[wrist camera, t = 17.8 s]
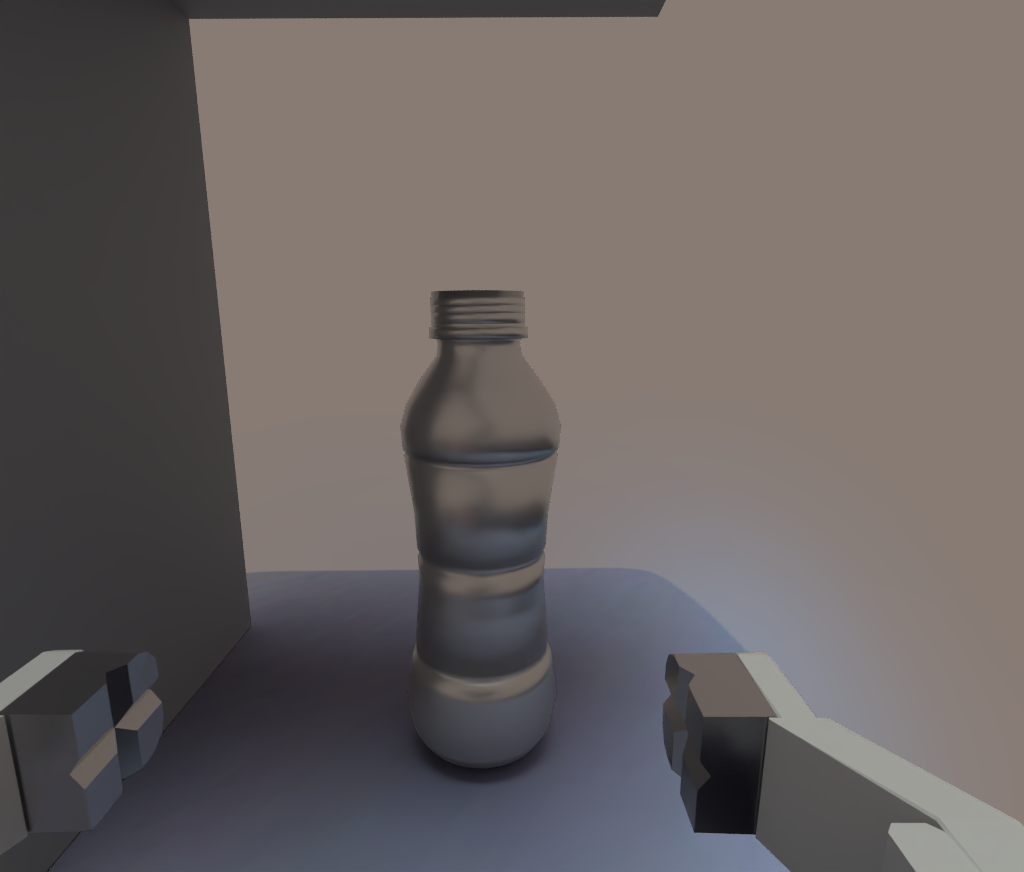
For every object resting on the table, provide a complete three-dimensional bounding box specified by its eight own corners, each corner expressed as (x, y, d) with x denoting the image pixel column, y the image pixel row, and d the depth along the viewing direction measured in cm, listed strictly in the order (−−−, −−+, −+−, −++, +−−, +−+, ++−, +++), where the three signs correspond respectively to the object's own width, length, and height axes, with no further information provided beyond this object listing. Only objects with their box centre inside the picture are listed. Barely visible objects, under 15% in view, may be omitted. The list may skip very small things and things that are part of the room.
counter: (-45, 908, 19) (-387, -517, 12) (219, 626, 37) (144, -26, 30) (743, 905, 19) (873, -523, 12) (633, 624, 37) (659, -28, 30)
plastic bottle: (443, 683, 31) (431, 295, 27) (569, 706, 29) (576, 293, 25) (383, 772, 25) (357, 290, 21) (537, 809, 23) (540, 287, 19)
